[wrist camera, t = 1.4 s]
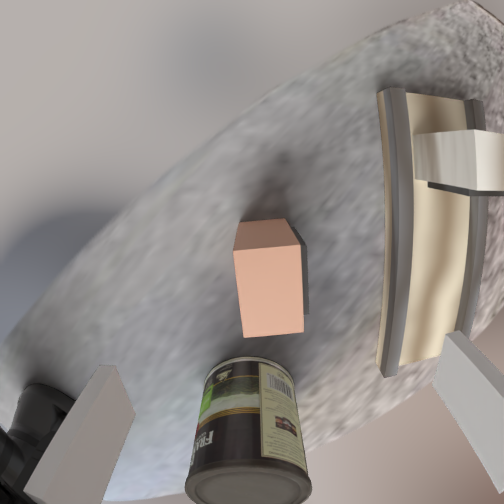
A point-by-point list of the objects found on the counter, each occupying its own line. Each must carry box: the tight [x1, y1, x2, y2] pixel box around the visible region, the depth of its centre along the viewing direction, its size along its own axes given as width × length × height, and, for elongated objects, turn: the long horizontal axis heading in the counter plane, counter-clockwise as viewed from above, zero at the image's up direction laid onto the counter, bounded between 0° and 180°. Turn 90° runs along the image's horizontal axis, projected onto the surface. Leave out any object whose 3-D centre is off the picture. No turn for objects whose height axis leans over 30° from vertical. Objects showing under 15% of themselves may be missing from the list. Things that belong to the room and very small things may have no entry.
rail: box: [376, 87, 504, 378], centre depth 22 cm, size 11×28×10 cm, turn 5°
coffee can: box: [185, 357, 312, 504], centre depth 25 cm, size 10×10×14 cm
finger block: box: [233, 218, 309, 338], centre depth 23 cm, size 6×5×9 cm
